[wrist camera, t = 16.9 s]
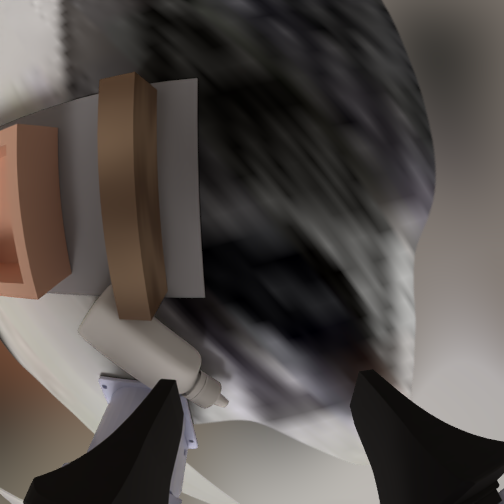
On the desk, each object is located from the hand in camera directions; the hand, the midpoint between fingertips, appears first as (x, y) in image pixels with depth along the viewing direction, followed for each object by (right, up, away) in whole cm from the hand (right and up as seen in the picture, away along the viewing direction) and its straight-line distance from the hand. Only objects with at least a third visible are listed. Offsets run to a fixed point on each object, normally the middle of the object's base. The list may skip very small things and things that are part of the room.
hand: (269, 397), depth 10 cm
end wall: (-7, +9, +7) cm, 14 cm away
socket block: (-18, +9, +6) cm, 21 cm away
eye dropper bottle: (-11, +2, +7) cm, 14 cm away
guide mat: (-16, +9, +6) cm, 19 cm away
